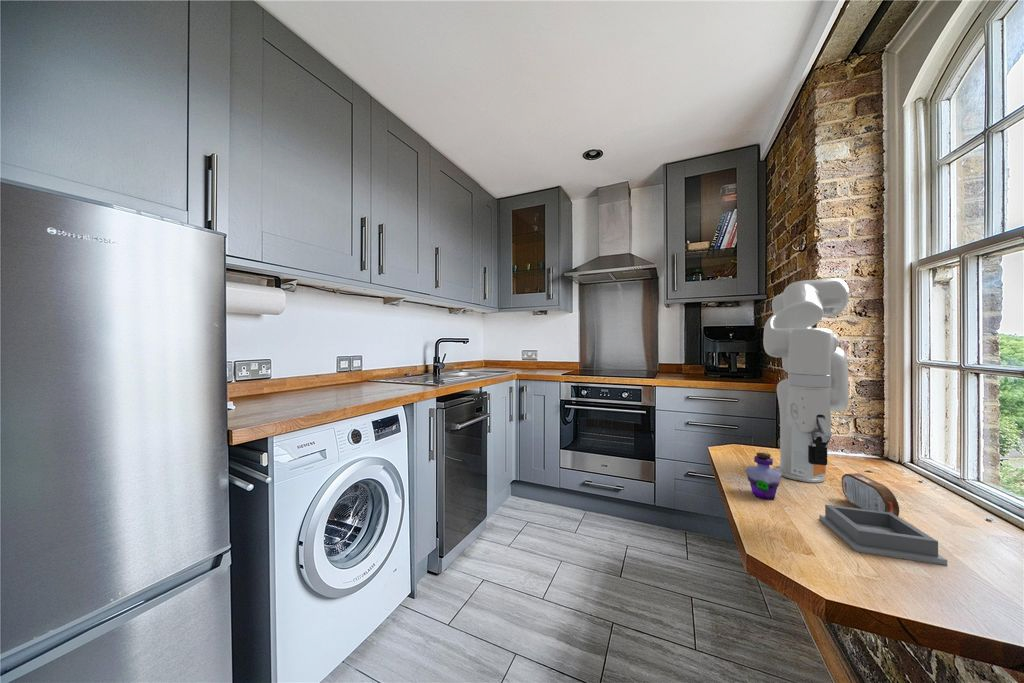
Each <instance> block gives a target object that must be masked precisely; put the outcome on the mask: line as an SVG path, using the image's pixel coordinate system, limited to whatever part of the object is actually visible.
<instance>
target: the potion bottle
mask: <svg viewBox="0 0 1024 683" xmlns="http://www.w3.org/2000/svg"><path fill="white" fill-rule="evenodd" d="M753 460H754V463H757V464H756V466H747V467H746V468H745V472H746V476H747V481H748V483H749V485H750V489H751V492H752V493H753V494H754V495H755V496H756V499H761V500H765V501H774V500H773V499H774V498H775V499H776V492H777V489H778V487H779V486H780V481H781V477H782V476H781V475H782V473H780V472H777V471H775V470H774V468H770V466H773V464H774V462H773V461H774V460H773V458H771V454H770V453H766V452H756V455H754V457H753ZM752 493H751V494H752ZM755 496H754V497H755ZM758 497H759V498H758ZM766 499H767V500H766ZM768 499H770V500H768ZM771 499H772V500H771Z"/></svg>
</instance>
